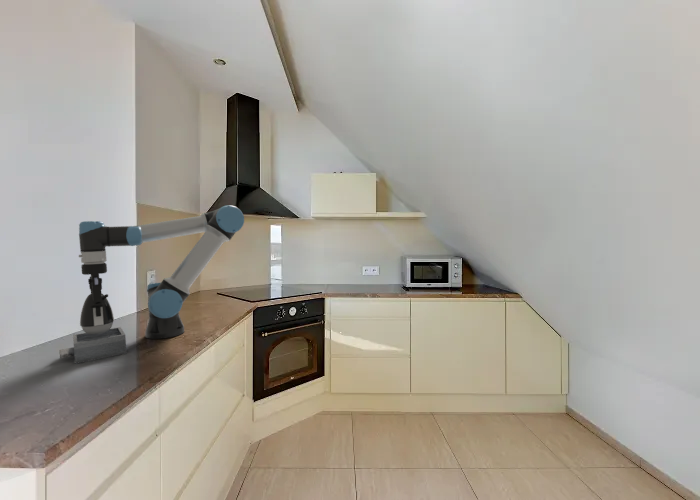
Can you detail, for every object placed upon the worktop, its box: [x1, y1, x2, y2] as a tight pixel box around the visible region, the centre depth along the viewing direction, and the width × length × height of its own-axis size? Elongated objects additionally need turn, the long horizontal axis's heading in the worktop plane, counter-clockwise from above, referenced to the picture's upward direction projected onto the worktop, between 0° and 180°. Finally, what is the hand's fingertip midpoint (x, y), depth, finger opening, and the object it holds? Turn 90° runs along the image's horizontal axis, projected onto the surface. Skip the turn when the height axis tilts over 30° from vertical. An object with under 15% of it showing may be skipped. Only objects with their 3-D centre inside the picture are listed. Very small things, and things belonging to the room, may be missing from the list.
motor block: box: [59, 326, 128, 364], centre depth 128 cm, size 19×15×7 cm
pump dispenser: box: [79, 292, 115, 334], centre depth 128 cm, size 10×10×15 cm
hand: (97, 322), depth 129 cm, fingers closed on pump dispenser, 10 cm apart
